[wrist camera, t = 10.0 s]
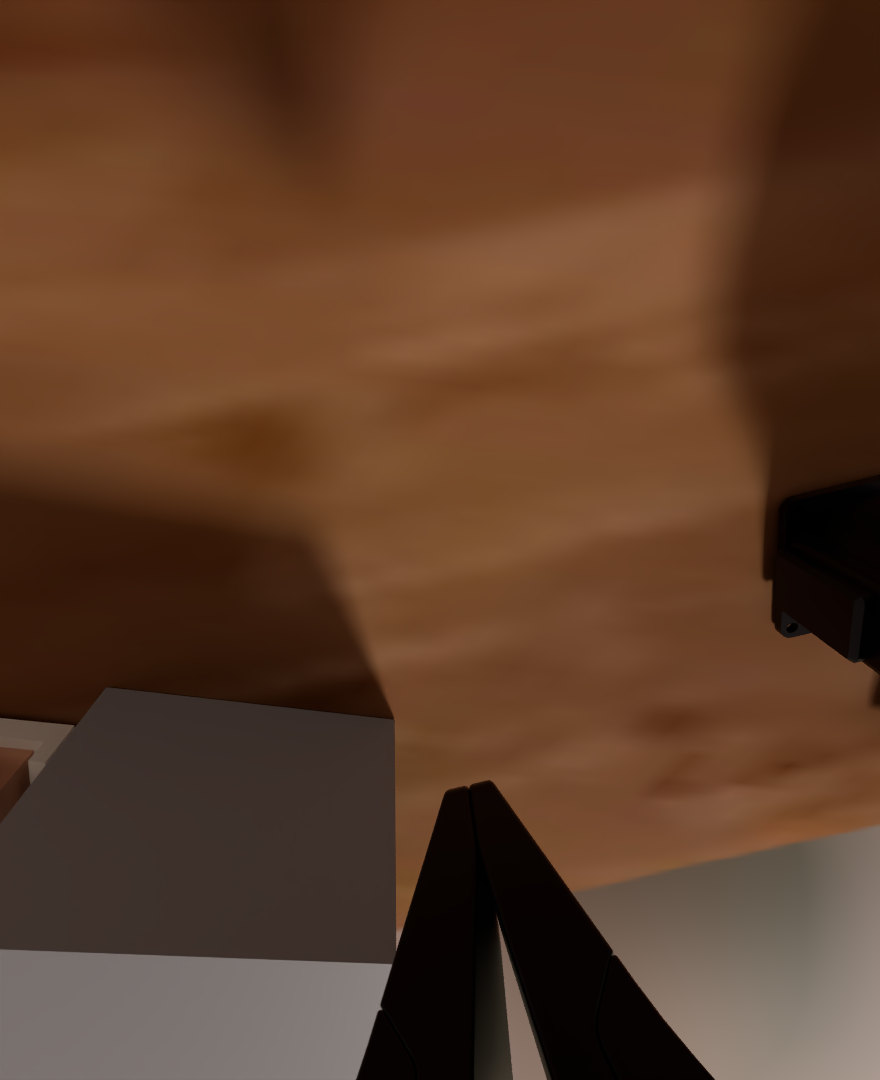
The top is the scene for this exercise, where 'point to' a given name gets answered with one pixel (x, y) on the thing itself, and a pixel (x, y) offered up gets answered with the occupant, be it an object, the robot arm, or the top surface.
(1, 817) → the block
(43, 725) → the grey white bent piece
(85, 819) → the tunnel
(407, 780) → the top surface
